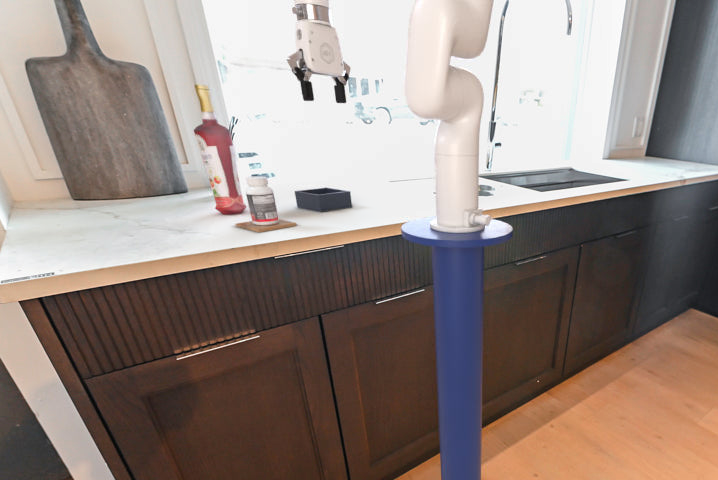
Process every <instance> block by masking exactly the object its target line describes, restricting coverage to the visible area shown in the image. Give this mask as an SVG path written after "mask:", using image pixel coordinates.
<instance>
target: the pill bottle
mask: <svg viewBox="0 0 718 480" xmlns="http://www.w3.org/2000/svg"><path fill="white" fill-rule="evenodd" d="M245 180H246V184H247V185H248V188H246V189H245V195H246V199H247V203H248V208H249V212H250V217H251V221H253V224H256V225H272V224H277V223H278V222H279V219H280V217H279V213H278V207H277V204H276V203H277V202H276V198H275V193H274V190H273V188H271V187H269V186H268V185H269V180H268V177H267V176H258V175H255V176H247V177H245Z"/></svg>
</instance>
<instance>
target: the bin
mask: <svg viewBox="0 0 718 480" xmlns="http://www.w3.org/2000/svg"><path fill="white" fill-rule="evenodd" d="M294 196H295V202H296V208H299V209H304V210H307V211H308V210H309V211H313V212H318V213H324V212H325V213H326V212H329V211H336V210H337V211H338V210H343V209H349V208H353V203H352V196H351V191H350V190H345V189H340V188H332V187H331V188H330V187H320V188H319V187H318V188H310V189H301V190H300V189H299V190H294Z"/></svg>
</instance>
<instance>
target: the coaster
mask: <svg viewBox="0 0 718 480" xmlns="http://www.w3.org/2000/svg"><path fill="white" fill-rule="evenodd" d="M297 225H298V224H297V222H293V221H289V220H285V219H281V218H279V222H278V223H277V224H272V225H256V224H253V221H252V220H250V221H244V222H243V221H242V222H238V223H235V224H234V226H235V227H237V228H240V229H244V230H248V231H252V232H255V233H256V232H257V233H263V232H269V231H274V230H281V229H285V228H291V227H296V226H297Z"/></svg>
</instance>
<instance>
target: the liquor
mask: <svg viewBox="0 0 718 480" xmlns="http://www.w3.org/2000/svg"><path fill="white" fill-rule="evenodd" d="M193 85H194V90H195V94H196V96H197V98H198V101H199V106H200V113H201V119H202V123H201V124H199V125H197V126H196V127H195V128H194V129H193V133H194V137H195V139H196V140H195V141H196V143H197V146H198V149H199V153H200V155H201V159H202V162H203V165H204V168H205V171H206V173H207V174H206V175H207V178H208V181H209V185H210V188H211V192H212V195H213V198H214V202H215V206H214V207H215V208H214V209H215V210H216V211H218V212H219V213H220V214H222V215H238V214H242V213H243V212H244V211H245V209H246V208H247V207H248V206H247V205H246V204H245V203H244V197H243V193H242V189H241V183H240V177H239V172H238V167H237V166H238V165H237V161H236V154H235V153H236V152H235V149H234V143H233V138H232V132H231V130H230V129H229V128H228V127H226V126H224V125H222V124H219V122H218V119H217V115H216V113H215V110H214V107H213V103H212V98H211V97H212V96H211V92H210V91H211V90H210V87H209V85H207V84H193Z"/></svg>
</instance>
